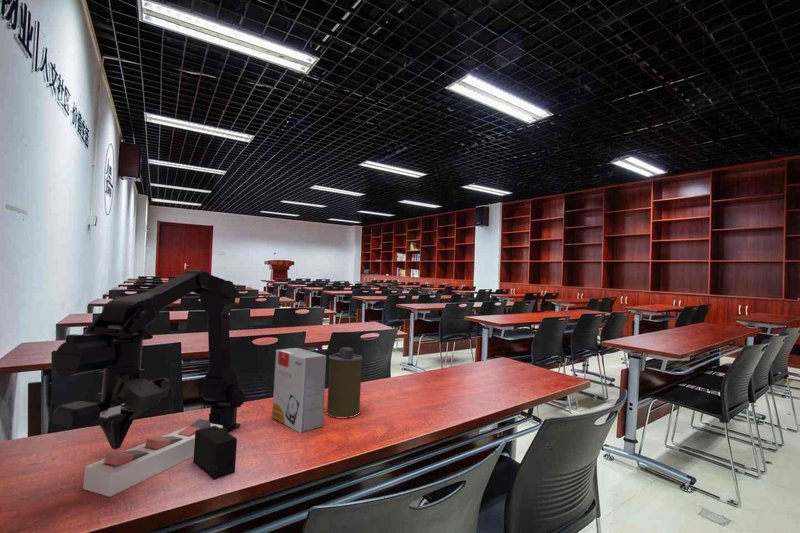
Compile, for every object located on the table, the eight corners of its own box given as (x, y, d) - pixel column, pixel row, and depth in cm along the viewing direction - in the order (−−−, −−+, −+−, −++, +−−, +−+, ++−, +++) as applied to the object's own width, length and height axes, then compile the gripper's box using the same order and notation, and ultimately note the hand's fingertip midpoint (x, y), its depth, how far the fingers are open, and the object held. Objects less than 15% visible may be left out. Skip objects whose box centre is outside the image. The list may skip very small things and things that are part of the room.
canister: (366, 414, 115) (369, 349, 116) (337, 421, 108) (340, 351, 110) (348, 405, 123) (350, 344, 125) (319, 411, 117) (322, 346, 118)
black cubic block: (241, 471, 78) (243, 436, 78) (214, 480, 73) (216, 444, 74) (218, 455, 84) (220, 423, 85) (193, 463, 80) (195, 429, 81)
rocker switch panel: (209, 433, 96) (210, 417, 96) (231, 437, 94) (232, 421, 94) (83, 488, 69) (85, 466, 69) (109, 496, 66) (111, 473, 67)
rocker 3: (200, 424, 91) (199, 418, 91) (210, 426, 90) (209, 420, 90) (178, 439, 85) (177, 433, 85) (189, 441, 84) (188, 435, 84)
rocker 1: (134, 457, 76) (136, 450, 76) (145, 460, 75) (147, 452, 75) (104, 462, 70) (106, 454, 71) (116, 465, 69) (118, 457, 70)
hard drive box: (270, 418, 109) (274, 349, 110) (294, 412, 114) (297, 347, 116) (300, 433, 98) (304, 357, 99) (324, 426, 104) (327, 354, 105)
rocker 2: (169, 442, 83) (171, 436, 84) (180, 445, 82) (182, 438, 83) (145, 446, 78) (147, 438, 78) (156, 448, 77) (158, 441, 77)
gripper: (99, 380, 60) (90, 480, 59) (195, 361, 78) (190, 437, 77) (54, 373, 64) (45, 467, 63) (156, 356, 81) (150, 429, 80)
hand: (115, 448), depth 71 cm, fingers closed
